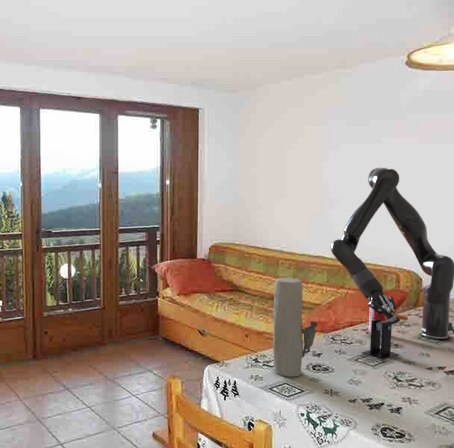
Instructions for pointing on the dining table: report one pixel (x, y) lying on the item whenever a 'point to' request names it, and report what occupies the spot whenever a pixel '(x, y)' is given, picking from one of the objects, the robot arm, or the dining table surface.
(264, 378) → the dining table surface
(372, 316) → the soda can
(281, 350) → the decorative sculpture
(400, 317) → the clamp lever
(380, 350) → the clamp bracket
